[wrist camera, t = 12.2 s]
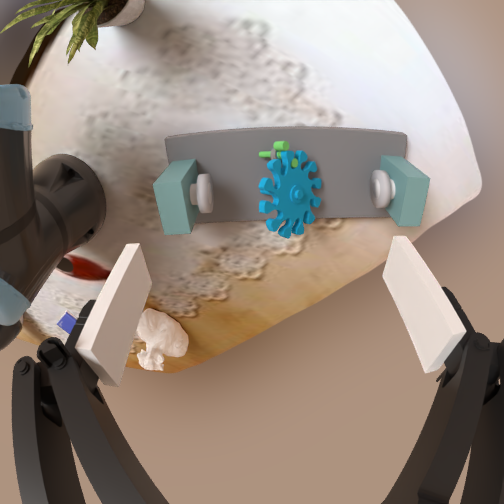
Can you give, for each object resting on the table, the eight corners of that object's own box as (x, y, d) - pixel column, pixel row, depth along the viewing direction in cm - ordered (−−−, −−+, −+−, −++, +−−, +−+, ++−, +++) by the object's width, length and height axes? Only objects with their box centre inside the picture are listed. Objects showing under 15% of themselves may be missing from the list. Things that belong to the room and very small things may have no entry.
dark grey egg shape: (-4, 294, 52) (-30, 333, 40) (12, 292, 51) (-16, 336, 39) (16, 320, 58) (-6, 359, 46) (33, 320, 57) (10, 364, 44)
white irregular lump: (143, 298, 52) (112, 344, 47) (153, 302, 46) (119, 355, 41) (187, 330, 57) (160, 374, 53) (204, 338, 51) (173, 387, 47)
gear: (328, 220, 35) (275, 254, 30) (293, 213, 39) (239, 242, 34) (319, 134, 30) (258, 148, 25) (282, 135, 34) (220, 151, 29)
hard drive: (55, 324, 55) (94, 353, 60) (65, 313, 52) (107, 344, 57) (58, 320, 56) (96, 348, 62) (68, 308, 53) (109, 339, 58)
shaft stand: (179, 219, 39) (162, 257, 32) (164, 136, 32) (137, 158, 25) (393, 212, 38) (420, 247, 30) (405, 132, 31) (441, 153, 23)
